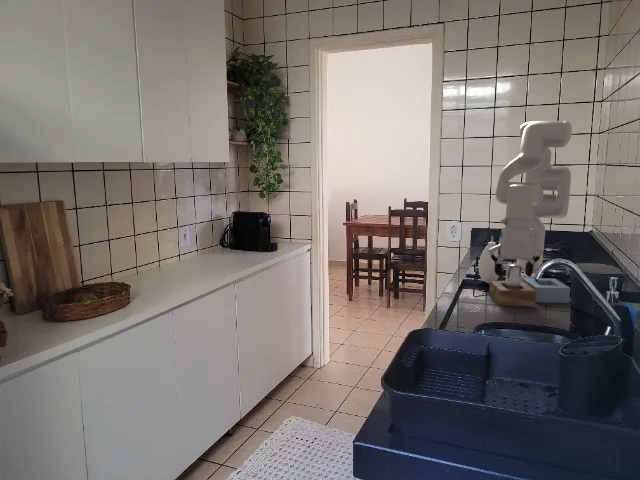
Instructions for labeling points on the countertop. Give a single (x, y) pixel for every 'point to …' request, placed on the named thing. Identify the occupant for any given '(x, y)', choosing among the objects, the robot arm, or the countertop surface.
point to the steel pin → (513, 276)
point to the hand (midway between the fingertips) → (513, 275)
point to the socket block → (549, 290)
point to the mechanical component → (526, 276)
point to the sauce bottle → (488, 264)
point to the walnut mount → (512, 294)
